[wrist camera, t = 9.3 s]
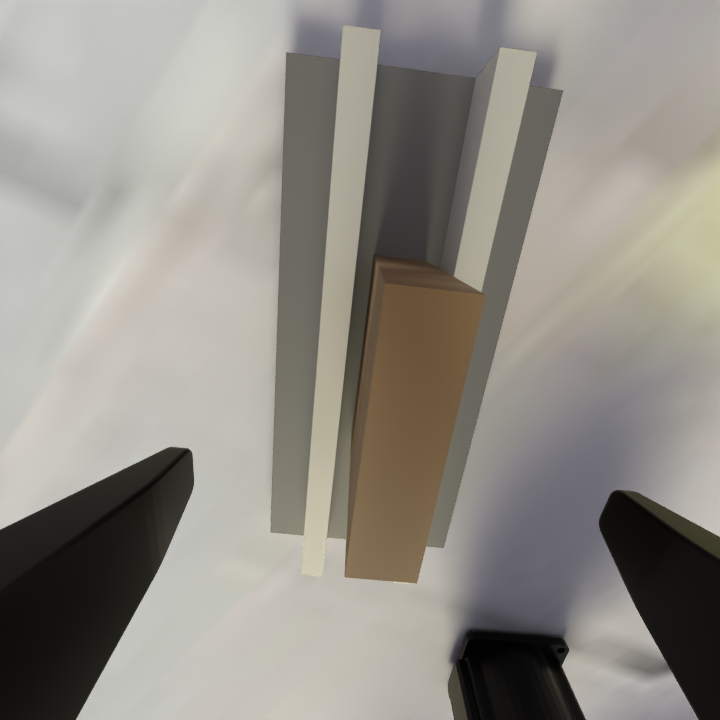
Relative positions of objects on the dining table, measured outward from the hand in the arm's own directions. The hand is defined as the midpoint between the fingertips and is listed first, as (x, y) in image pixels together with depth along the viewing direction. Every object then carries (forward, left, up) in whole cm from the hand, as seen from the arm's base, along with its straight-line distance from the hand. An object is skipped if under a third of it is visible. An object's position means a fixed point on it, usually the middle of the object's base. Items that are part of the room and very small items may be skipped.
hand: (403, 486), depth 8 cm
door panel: (0, 0, -8) cm, 8 cm away
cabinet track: (0, 0, -9) cm, 9 cm away
